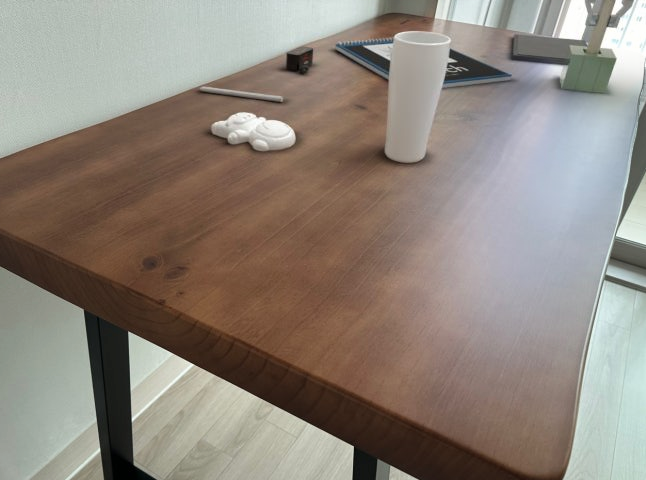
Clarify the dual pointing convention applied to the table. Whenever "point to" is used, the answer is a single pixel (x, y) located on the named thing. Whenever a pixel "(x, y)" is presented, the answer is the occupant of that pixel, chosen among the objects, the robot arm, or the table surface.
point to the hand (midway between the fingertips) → (600, 26)
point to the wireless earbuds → (299, 59)
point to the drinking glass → (414, 92)
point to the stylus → (600, 26)
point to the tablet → (542, 48)
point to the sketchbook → (457, 73)
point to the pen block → (587, 69)
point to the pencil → (242, 94)
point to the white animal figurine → (255, 132)
